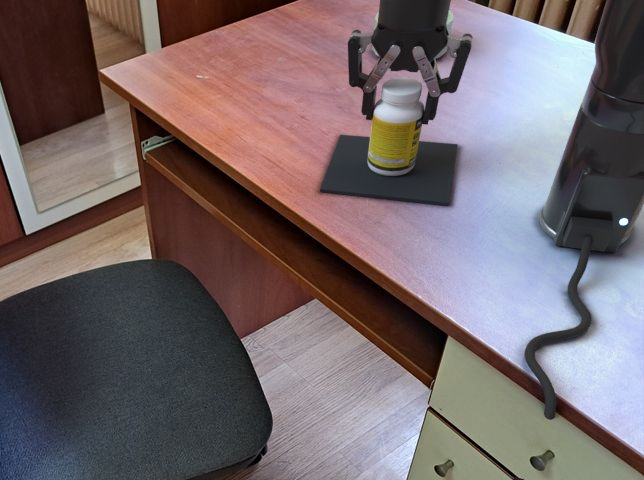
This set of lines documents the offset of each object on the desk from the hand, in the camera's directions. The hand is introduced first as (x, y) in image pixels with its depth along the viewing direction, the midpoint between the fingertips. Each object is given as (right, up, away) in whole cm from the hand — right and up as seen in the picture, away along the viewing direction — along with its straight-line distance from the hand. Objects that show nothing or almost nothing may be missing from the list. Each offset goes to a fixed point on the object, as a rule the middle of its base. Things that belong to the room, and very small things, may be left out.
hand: (397, 118), depth 83 cm
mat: (+1, -5, +5) cm, 7 cm away
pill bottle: (+1, -5, +5) cm, 7 cm away
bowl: (+12, +22, +28) cm, 38 cm away
